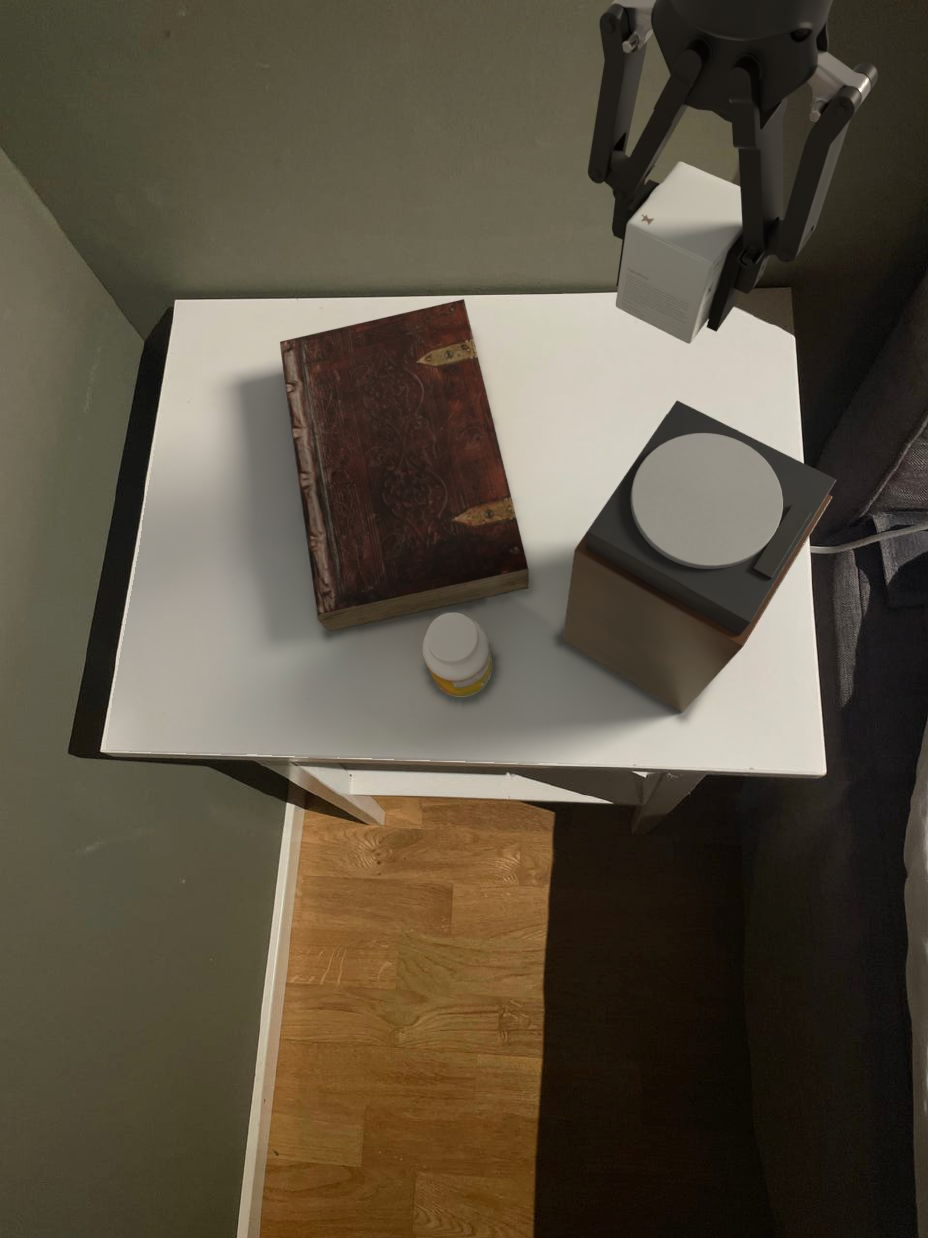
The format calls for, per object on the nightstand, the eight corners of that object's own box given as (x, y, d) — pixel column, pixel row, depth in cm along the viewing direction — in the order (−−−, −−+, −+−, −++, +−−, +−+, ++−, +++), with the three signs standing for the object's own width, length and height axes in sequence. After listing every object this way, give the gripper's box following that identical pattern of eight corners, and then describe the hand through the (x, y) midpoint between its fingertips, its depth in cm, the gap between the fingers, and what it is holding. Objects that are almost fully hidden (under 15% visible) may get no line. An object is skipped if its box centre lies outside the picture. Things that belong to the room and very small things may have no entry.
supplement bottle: (424, 651, 70) (408, 616, 61) (480, 631, 70) (473, 593, 61) (443, 707, 68) (429, 680, 59) (501, 686, 68) (496, 656, 59)
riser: (750, 601, 69) (833, 496, 50) (682, 713, 66) (743, 646, 47) (631, 535, 72) (667, 412, 53) (562, 640, 69) (574, 550, 50)
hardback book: (290, 371, 81) (275, 339, 76) (467, 333, 80) (464, 298, 76) (327, 631, 71) (313, 614, 66) (528, 589, 71) (528, 568, 66)
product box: (689, 348, 52) (712, 265, 45) (612, 308, 54) (622, 222, 47) (737, 286, 53) (767, 196, 46) (661, 248, 55) (678, 156, 48)
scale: (822, 498, 50) (840, 474, 47) (739, 636, 48) (753, 620, 45) (670, 421, 53) (678, 394, 50) (584, 547, 50) (588, 527, 47)
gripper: (521, -127, 33) (527, 276, 55) (967, 16, 28) (779, 395, 50) (613, -225, 35) (583, 204, 56) (1049, -107, 30) (832, 312, 52)
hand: (675, 293), depth 53 cm, fingers closed on product box, 6 cm apart
